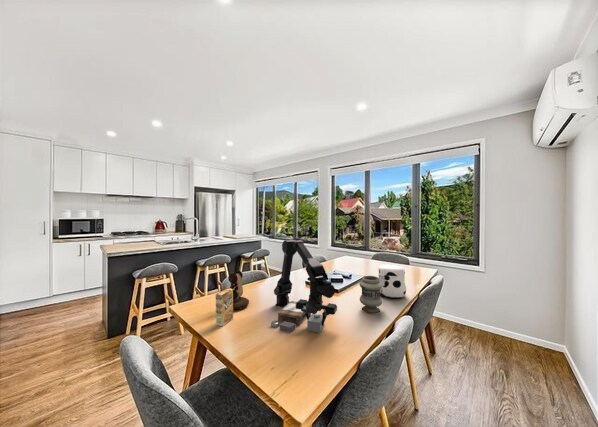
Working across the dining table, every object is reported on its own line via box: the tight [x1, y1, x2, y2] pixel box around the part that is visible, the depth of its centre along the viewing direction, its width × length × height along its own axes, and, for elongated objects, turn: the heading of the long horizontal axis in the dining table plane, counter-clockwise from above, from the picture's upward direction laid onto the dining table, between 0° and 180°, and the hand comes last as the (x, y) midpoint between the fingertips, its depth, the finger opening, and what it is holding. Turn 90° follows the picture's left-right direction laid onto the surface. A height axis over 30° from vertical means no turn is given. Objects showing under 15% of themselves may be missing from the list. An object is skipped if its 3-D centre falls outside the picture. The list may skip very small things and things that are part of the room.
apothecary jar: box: [359, 275, 384, 315], centre depth 128 cm, size 12×12×18 cm
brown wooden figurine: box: [228, 269, 250, 311], centre depth 135 cm, size 15×15×20 cm
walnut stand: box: [277, 300, 306, 326], centre depth 122 cm, size 12×16×4 cm
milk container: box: [378, 264, 407, 299], centre depth 150 cm, size 17×17×18 cm
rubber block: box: [279, 320, 296, 333], centre depth 109 cm, size 6×4×2 cm, turn 63°
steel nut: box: [270, 320, 280, 328], centre depth 112 cm, size 4×4×2 cm
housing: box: [306, 312, 325, 334], centre depth 109 cm, size 6×8×6 cm
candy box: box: [215, 288, 234, 327], centre depth 116 cm, size 9×4×15 cm, turn 162°
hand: (316, 324), depth 110 cm, fingers closed on housing, 6 cm apart
